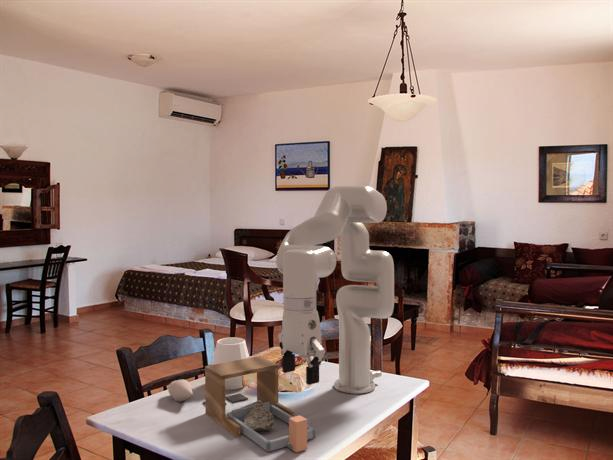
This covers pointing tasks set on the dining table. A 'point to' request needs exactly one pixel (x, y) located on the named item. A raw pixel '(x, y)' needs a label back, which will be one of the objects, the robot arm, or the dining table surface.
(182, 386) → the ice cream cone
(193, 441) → the dining table surface
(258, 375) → the brown wooden arch frame
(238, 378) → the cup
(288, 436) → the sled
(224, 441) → the dining table surface
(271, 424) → the rock sample
